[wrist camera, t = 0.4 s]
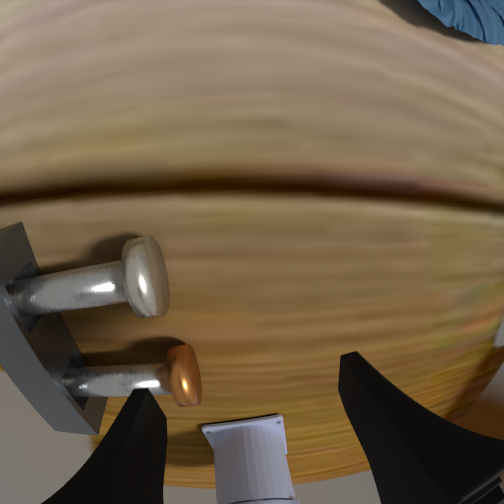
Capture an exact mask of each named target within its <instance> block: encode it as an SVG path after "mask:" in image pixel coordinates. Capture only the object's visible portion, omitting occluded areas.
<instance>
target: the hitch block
mask: <svg viewBox="0 0 504 504" xmlns="http://www.w3.org/2000/svg"><path fill="white" fill-rule="evenodd" d="M37 276H42V274H41V272H40V269H39V267H38V265H37V262H36V260H35V257H34V254H33V252H32V249H31V246H30V244H29V241H28V238H27V235H26V232H25V229H24V226H23V223H22V222H19V223H16V224H13V225H10V226H8V227H5V228H2V229H0V364H1V366H2V367H3V369H4V370H5V372H6V373H7V374H8V376H9V377H10V378H11V379H12V381H13V382H14V384H15V385H16V386H17V387H18V389H19V390H20V391H21V393H22V394H23V395H24V396H25V398H26V399H27V400H28V401H29V402H30V403H31V405H32V406H33V407H34V408H35V409H36V410H37V412H38V413H39V414H40V415H41V416H42V417H43V418H44V419H45V420H46V421H47V423H48V424H49V425H50V426H51V427H52V428H53V429H54V430H55V431H61V432H70V433H78V434H88V435H98V434H99V430H100V426H101V422H102V418H103V414H104V410H105V407H106V403H107V399H108V397H85V396H71V395H70V394H69V392H68V391H67V390H66V388H65V387H64V386H63V384H62V383H61V379H62V377H63V375H64V372H65V370H66V368H67V367H90V366H89V365H88V363H87V361H86V360H85V358H84V357H83V355H82V353H81V352H80V350H79V348H78V346H77V345H76V343H75V341H74V339H73V338H72V336H71V334H70V332H69V330H68V328H67V327H66V325H65V323H64V321H63V319H62V317H61V315H60V313H59V312H53V313H45V314H36V315H27V316H19V314H18V312H17V310H16V308H15V306H14V304H13V302H12V300H11V298H10V296H9V294H8V292H7V290H6V288H5V285H6V284H7V283H8V282H13V281H18V280H23V279H27V278H32V277H37Z"/></svg>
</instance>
